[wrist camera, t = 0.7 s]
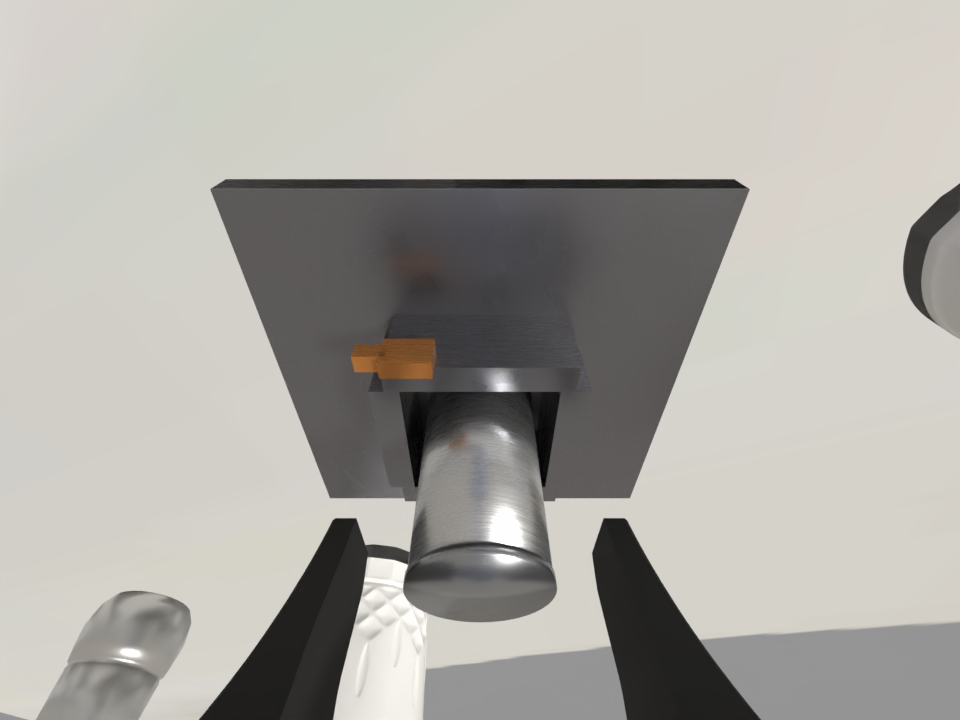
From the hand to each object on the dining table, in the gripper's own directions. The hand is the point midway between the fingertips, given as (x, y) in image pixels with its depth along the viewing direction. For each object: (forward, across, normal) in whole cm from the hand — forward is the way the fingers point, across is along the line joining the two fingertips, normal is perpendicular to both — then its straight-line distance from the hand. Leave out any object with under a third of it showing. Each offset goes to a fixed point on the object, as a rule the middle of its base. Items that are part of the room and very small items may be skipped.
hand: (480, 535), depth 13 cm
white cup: (+8, -7, -18) cm, 21 cm away
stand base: (+7, 0, 0) cm, 7 cm away
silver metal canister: (+6, 0, 0) cm, 6 cm away
